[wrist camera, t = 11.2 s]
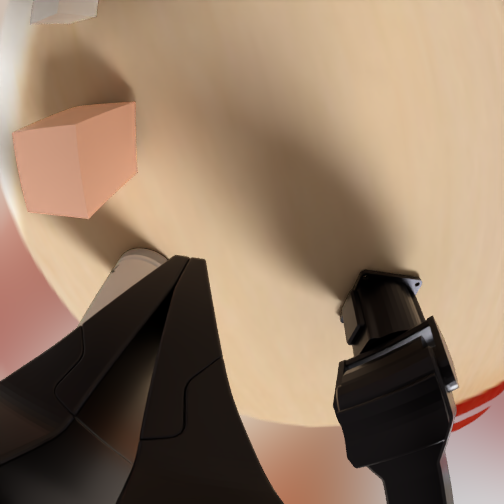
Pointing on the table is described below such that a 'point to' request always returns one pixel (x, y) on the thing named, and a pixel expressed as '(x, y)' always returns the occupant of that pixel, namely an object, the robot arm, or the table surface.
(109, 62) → the table surface
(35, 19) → the white block
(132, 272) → the travel mug
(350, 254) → the table surface
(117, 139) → the pink foam cube
